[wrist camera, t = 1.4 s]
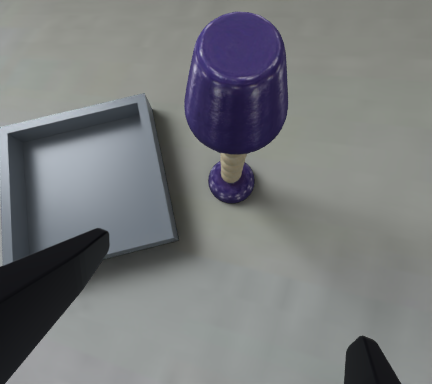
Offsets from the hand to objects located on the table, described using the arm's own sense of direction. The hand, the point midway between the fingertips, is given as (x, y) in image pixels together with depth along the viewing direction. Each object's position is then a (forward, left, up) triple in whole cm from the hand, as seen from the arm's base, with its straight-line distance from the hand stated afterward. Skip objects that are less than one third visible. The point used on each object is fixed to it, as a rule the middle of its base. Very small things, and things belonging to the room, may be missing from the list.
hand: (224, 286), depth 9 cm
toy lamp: (+2, +7, -14) cm, 16 cm away
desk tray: (-10, +10, -14) cm, 20 cm away
